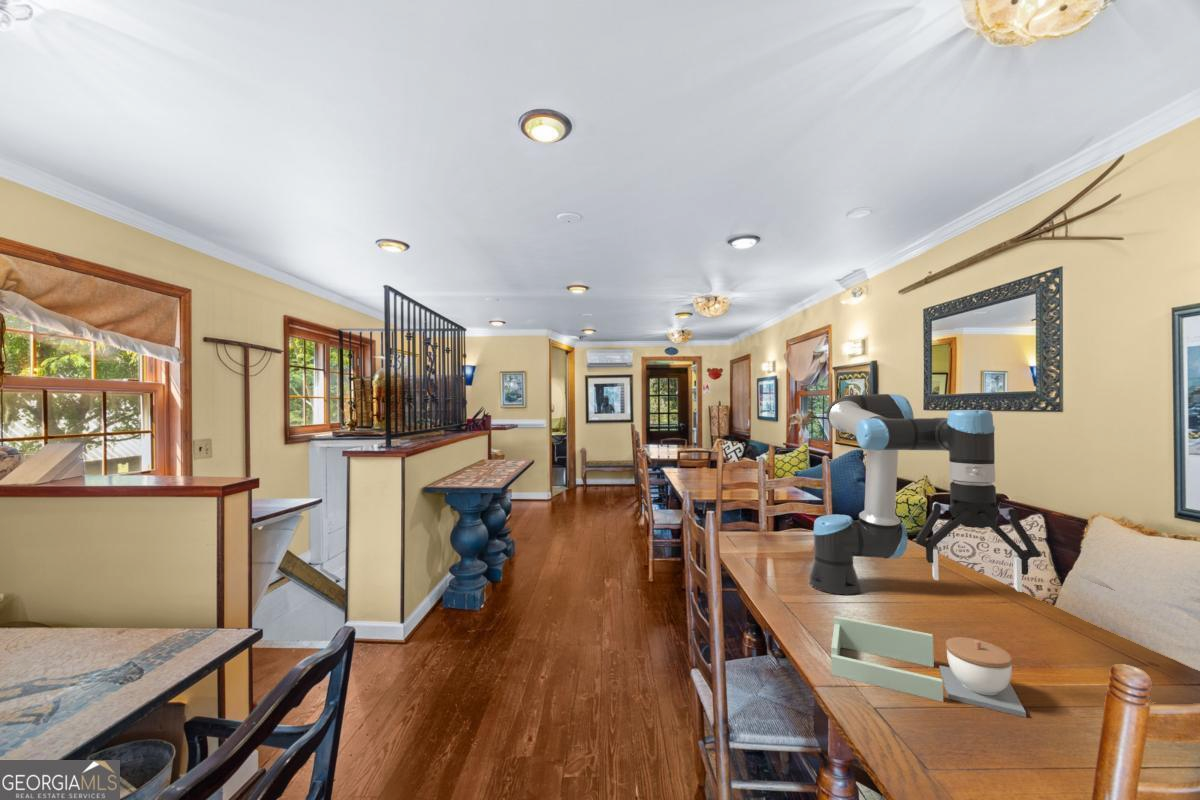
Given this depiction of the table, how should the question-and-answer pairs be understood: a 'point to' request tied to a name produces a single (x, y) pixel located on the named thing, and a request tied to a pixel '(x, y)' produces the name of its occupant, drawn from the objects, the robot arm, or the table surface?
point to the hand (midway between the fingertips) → (975, 583)
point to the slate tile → (999, 702)
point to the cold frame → (888, 645)
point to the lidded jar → (979, 665)
